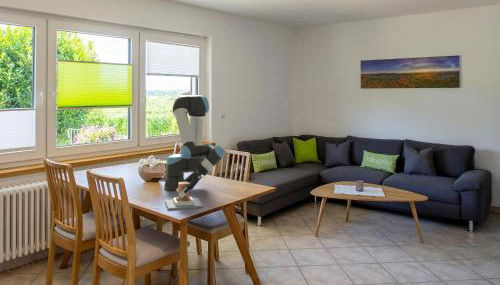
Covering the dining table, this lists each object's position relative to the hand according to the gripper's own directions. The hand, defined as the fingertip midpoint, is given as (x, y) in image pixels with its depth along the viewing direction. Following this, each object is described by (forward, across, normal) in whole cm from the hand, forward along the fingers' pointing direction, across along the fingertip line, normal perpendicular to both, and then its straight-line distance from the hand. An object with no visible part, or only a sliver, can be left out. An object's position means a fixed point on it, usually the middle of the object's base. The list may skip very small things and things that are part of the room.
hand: (178, 194), depth 238 cm
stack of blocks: (+4, +78, -6) cm, 79 cm away
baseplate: (+3, 0, -7) cm, 7 cm away
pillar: (+2, 0, -6) cm, 6 cm away
